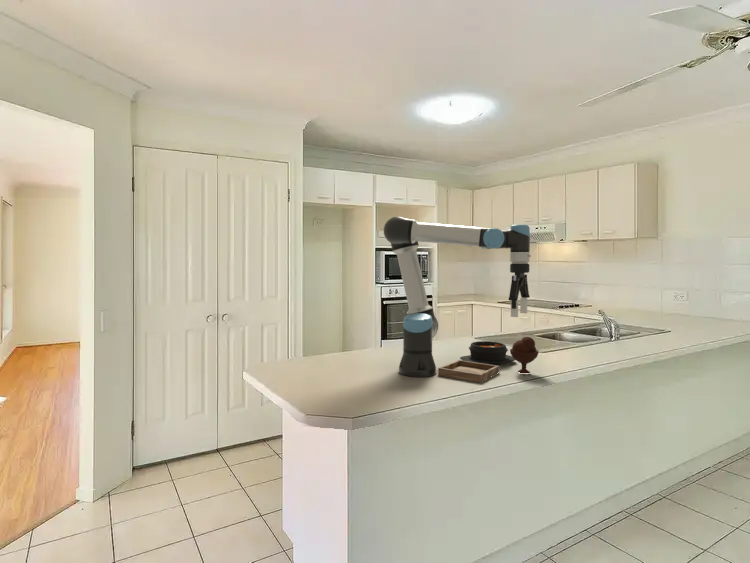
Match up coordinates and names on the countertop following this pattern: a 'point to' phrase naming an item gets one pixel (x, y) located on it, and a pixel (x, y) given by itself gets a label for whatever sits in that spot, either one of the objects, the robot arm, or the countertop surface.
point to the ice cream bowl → (524, 352)
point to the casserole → (488, 353)
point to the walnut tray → (468, 370)
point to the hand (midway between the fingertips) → (519, 315)
